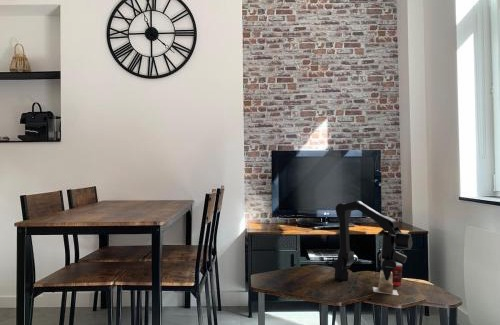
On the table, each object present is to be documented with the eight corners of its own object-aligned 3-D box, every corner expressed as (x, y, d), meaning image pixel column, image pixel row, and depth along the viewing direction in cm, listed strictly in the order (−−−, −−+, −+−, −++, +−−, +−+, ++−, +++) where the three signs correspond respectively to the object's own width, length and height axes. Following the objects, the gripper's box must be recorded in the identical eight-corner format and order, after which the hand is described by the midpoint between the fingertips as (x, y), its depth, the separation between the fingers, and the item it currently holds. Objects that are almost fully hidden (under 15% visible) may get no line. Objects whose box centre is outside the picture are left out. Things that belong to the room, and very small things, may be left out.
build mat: (373, 292, 178) (373, 291, 178) (372, 288, 186) (372, 286, 186) (398, 296, 175) (398, 295, 175) (396, 291, 183) (396, 290, 183)
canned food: (386, 281, 200) (387, 260, 200) (402, 284, 196) (403, 263, 196) (382, 284, 193) (384, 263, 194) (399, 288, 189) (400, 266, 189)
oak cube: (380, 283, 179) (381, 272, 179) (379, 280, 183) (380, 270, 184) (391, 284, 177) (392, 274, 178) (390, 281, 182) (391, 271, 182)
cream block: (379, 291, 178) (379, 283, 178) (378, 288, 184) (378, 279, 184) (392, 293, 177) (393, 285, 177) (391, 290, 182) (391, 281, 183)
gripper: (409, 250, 170) (407, 285, 169) (403, 243, 188) (401, 275, 187) (383, 247, 173) (380, 282, 172) (379, 241, 191) (377, 272, 190)
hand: (386, 277), depth 180 cm, fingers open, 9 cm apart
